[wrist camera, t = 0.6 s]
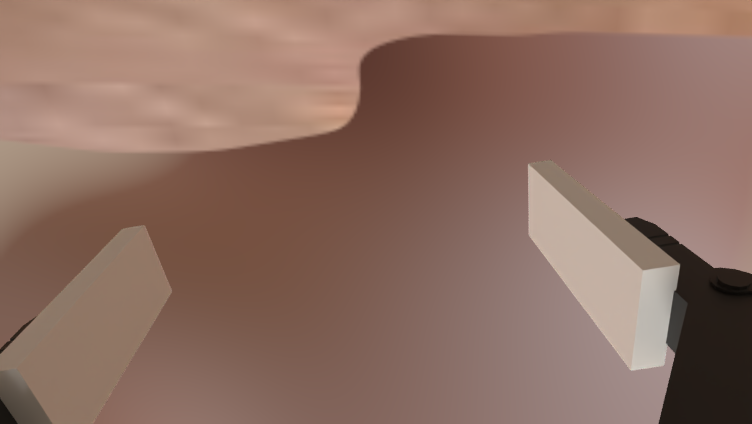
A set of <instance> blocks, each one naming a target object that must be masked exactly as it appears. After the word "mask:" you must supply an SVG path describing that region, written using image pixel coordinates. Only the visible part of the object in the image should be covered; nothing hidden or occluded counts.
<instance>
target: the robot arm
mask: <svg viewBox="0 0 752 424" xmlns="http://www.w3.org/2000/svg"><path fill="white" fill-rule="evenodd" d="M528 195H529V196H528V200H529V201H528V202H529V203H528V204H529V236H530V237H531V239H532V240H533V241H534V243H535V244H536V245H537V246H538V248H539V249H540V251H541V252H542V253H543V255H544V256H545V257H546V259H547V260H548V261H549V263H550V264H551V265H552V267H553V268H554V269H555V271H556V272H557V273H558V275H559V276H560V277H561V278H562V280H563V281H564V283H565V284H566V285H567V287H568V288H569V289H570V290H571V292H572V293H573V295H574V296H575V297H576V298H577V300H578V301H579V302H580V304H581V305H582V306H583V308H584V309H585V310H586V312H587V313H588V314H589V316H590V317H591V318H592V320H593V321H594V322H595V324H596V325H597V326H598V328H599V329H600V330H601V332H602V333H603V334H604V336H605V337H606V338H607V339H608V341H609V342H610V343H611V345H612V346H613V348H614V349H615V350H616V352H617V353H618V354H619V356H620V357H621V358H622V359H623V361H624V362H625V363H626V365H627V366H628V367H629V369H630V370H631V371H633V370H639V369H645V368H652V367H659V366H664V362H665V357H666V351H667V345H668V346H669V347H670V348H671V349H672V350H673V351H674V352H675V358H674V362H673V366H672V371H671V375H670V379H669V383H668V387H667V392H666V395H665V400H664V404H663V408H662V412H661V417H660V420H659V424H752V274H750V273H747V272H743V271H739V270H736V269H727V268H713V267H712V266H710V265H709V264H708V263H707V262H705V261H704V260H702V259H701V258H700V257H698V256H697V255H696V254H694V253H693V252H691V251H690V250H689V249H687V248H686V247H685V246H684V245H682V244H679V242H678V241H677V240H676V239H674V238H673V237H672V236H668V234H667V233H666V232H665V231H664V230H662V229H661V228H659V227H658V226H657V225H655V224H653V223H651V222H648V221H645V220H643V219H640V218H638V217H634V218H628V219H623V218H622V217H621V216H620V215H618V214H617V213H616V212H614V211H613V210H612V209H611V208H610V207H608V206H607V205H606V204H605V203H603V202H602V201H601V200H600V199H599V198H597V197H596V196H595V195H594V194H592V193H591V192H590V191H589V190H587V189H586V188H585V187H584V186H582V185H581V184H580V183H579V182H578V181H576V180H575V179H574V178H573V177H571V176H570V175H569V174H568V173H566V172H565V171H564V170H563V169H561V168H560V167H559V166H558V165H556V164H555V163H554V162H553V161H552V160H547V161H541V162H535V163H529V164H528ZM171 292H172V290H171V288H170V285H169V283H168V281H167V278H166V276H165V273H164V271H163V269H162V266H161V264H160V261H159V259H158V256H157V254H156V252H155V249H154V247H153V244H152V242H151V239H150V237H149V235H148V232H147V230H146V227H145V226H144V225H142V226H137V227H130V228H124V229H122V230H121V231H120V232H119V233H118V234H117V235H116V236H115V237H114V238H113V239H112V240H111V241H110V242H109V243H108V244H107V245H106V246H105V247H104V248H103V249H102V250H101V251H100V252H99V253H98V254H97V255H96V256H95V258H93V260H92V261H91V262H90V263H89V264H88V265H87V266H86V267H85V268H84V269H83V270H82V271H81V272H80V273H79V274H78V275H77V276H76V277H75V278H74V279H73V280H72V281H71V282H70V283H69V284H68V285H67V286H66V287H65V288H64V289H63V290H62V292H60V294H58V296H56V298H55V299H54V300H53V301H52V302H51V303H50V304H49V305H48V306H47V307H46V308H45V309H44V310H43V311H42V312H41V313H40V314H39V315H38V316H37V317H35V318H34V319H32V320H31V321H29V322H28V323H26V324H25V325H23V326H22V327H21V329H20V330H19V331H18V332H17V333H16V334H15V335H14V336H13V337H12V338H11V339H10V341H9V342H7V343H6V344H5V345H4V346H3V347H2V348H1V349H0V424H93V423H94V421H95V419H96V417H97V416H98V414H99V413H100V411H101V409H102V408H103V406H104V404H105V403H106V401H107V399H108V398H109V396H110V394H111V393H112V391H113V389H114V388H115V386H116V384H117V383H118V381H119V379H120V378H121V376H122V374H123V373H124V371H125V369H126V368H127V366H128V364H129V363H130V361H131V359H132V358H133V356H134V354H135V353H136V351H137V349H138V348H139V346H140V344H141V343H142V341H143V339H144V338H145V336H146V334H147V333H148V331H149V329H150V328H151V326H152V324H153V322H154V321H155V319H156V318H157V316H158V314H159V312H160V311H161V309H162V308H163V306H164V304H165V302H166V301H167V299H168V297H169V296H170V294H171Z"/></svg>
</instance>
